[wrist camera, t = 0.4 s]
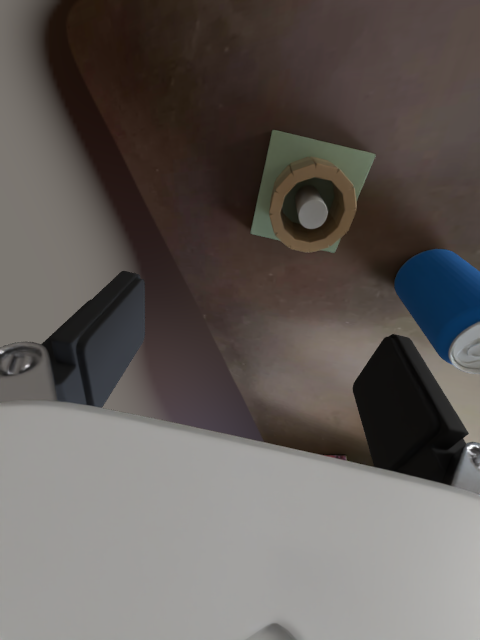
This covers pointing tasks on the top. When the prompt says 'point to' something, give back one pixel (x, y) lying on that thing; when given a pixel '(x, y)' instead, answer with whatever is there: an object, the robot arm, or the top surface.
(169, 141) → the top surface
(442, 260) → the beverage can
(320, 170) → the ring
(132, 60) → the top surface
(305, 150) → the post stand
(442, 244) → the top surface
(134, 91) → the top surface
